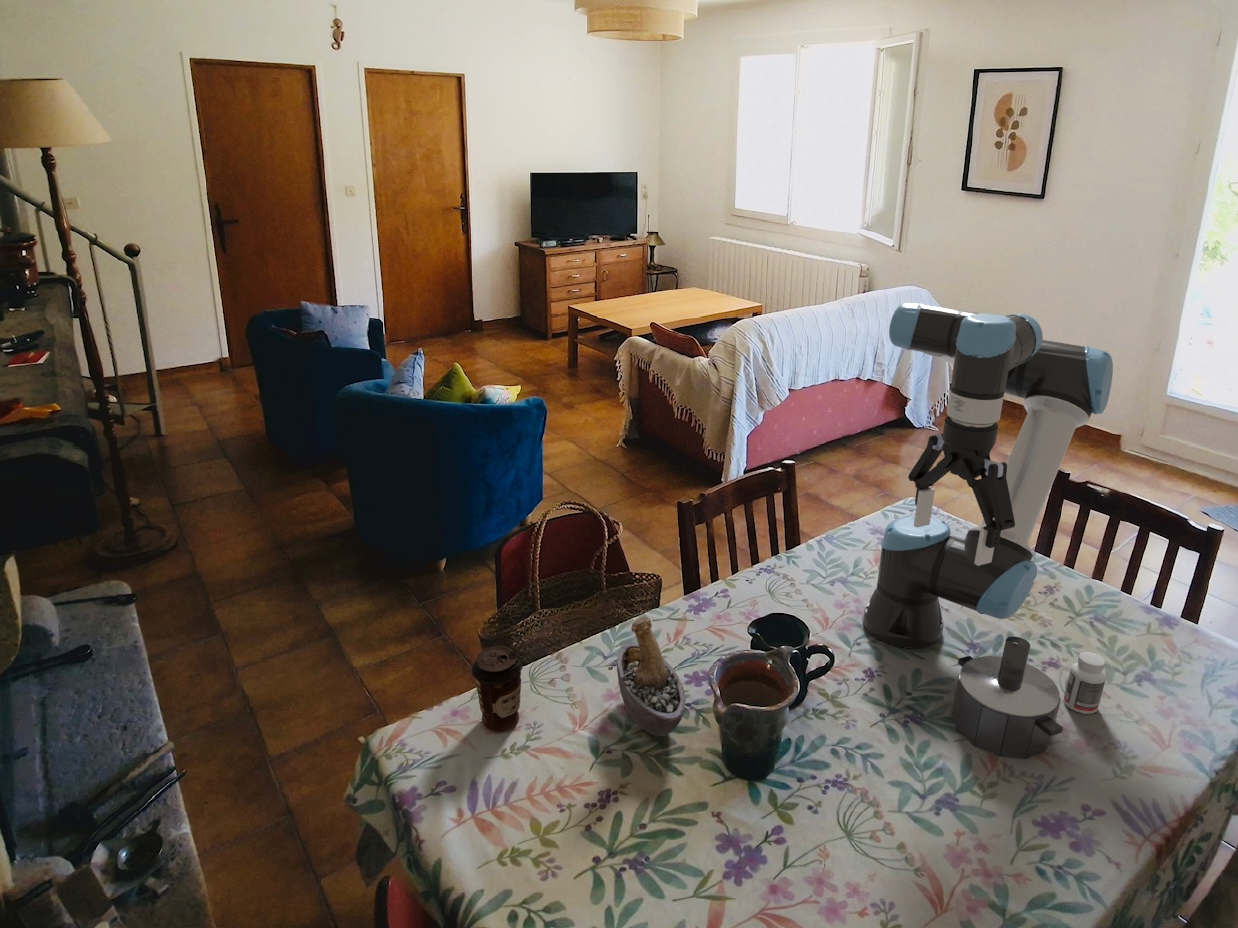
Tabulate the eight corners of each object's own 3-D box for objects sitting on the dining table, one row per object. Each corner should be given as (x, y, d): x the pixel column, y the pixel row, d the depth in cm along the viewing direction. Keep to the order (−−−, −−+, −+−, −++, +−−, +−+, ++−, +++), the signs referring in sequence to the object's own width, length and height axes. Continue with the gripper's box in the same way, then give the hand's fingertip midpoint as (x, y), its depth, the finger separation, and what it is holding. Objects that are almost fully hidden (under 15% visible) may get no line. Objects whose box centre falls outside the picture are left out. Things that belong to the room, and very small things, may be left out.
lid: (939, 676, 143) (947, 628, 139) (1007, 655, 148) (1017, 609, 144) (1007, 732, 130) (1018, 681, 126) (1079, 707, 135) (1092, 658, 132)
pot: (924, 701, 148) (930, 663, 145) (990, 680, 153) (997, 644, 150) (1011, 779, 131) (1021, 738, 128) (1083, 753, 136) (1093, 713, 133)
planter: (628, 679, 154) (627, 585, 146) (711, 709, 146) (716, 611, 138) (585, 727, 142) (582, 627, 134) (673, 762, 135) (676, 659, 127)
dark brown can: (536, 713, 146) (532, 650, 140) (510, 743, 139) (506, 679, 134) (493, 699, 149) (488, 638, 144) (466, 728, 142) (460, 665, 137)
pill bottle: (1103, 707, 146) (1116, 661, 142) (1086, 719, 143) (1099, 672, 140) (1073, 690, 150) (1085, 645, 146) (1056, 701, 148) (1067, 655, 144)
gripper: (896, 397, 136) (881, 515, 144) (1018, 452, 115) (992, 586, 123) (933, 391, 139) (916, 507, 147) (1059, 443, 117) (1030, 575, 126)
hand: (950, 543), depth 135 cm, fingers open, 13 cm apart
